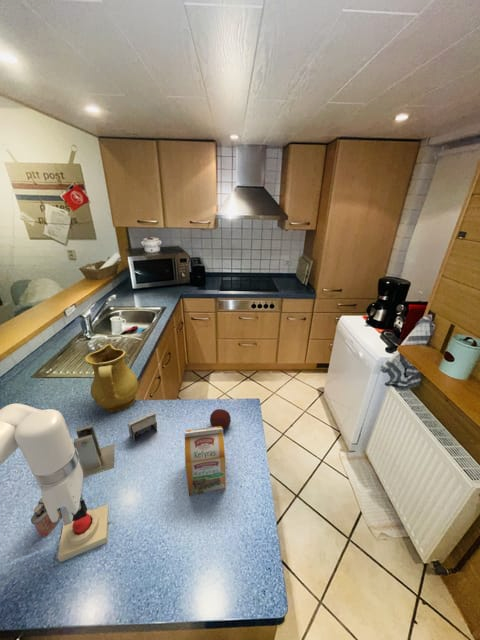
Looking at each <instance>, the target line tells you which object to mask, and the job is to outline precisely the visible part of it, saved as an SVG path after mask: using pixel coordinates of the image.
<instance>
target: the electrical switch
mask: <svg viewBox="0 0 480 640" xmlns="http://www.w3.org/2000/svg"><path fill="white" fill-rule="evenodd" d="M156 417H157V414H156V412H155V411H153V412H150V413H149V414H146V415H145V416H142V417H141V416H140V417H139V418H137V419H135V420H133V421H130V422H129V423H127V429H128V434H129V438H132V439H133V441H134V442H136V438H135V436H136V437H137V436H141V435H143V434H144V433H147V432H149V431H152V429H153V428H154V429H155V431H156V432H158V423H157V418H156Z"/></svg>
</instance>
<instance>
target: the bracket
mask: <svg viewBox="0 0 480 640" xmlns="http://www.w3.org/2000/svg"><path fill="white" fill-rule="evenodd" d="M86 430H87V431H89V432H91V433H93V434H92V435H89V436H85V437H82V438H78V436H79V435H80V434H82V433H83V432H84V431H86ZM75 432H76V434H77V438H75V439H73V443H74V444H75V447H76V451H77V454H78V456H79V463H80V465H81V468H82V471H83V479H85V478H87V477H90V476H93V475H97V474H100V473H102V472H105V471H108V470H111V469H114V468H115V454H116V453H115V451H116V450H115V449H116V444H115V443H114V444H110V445H107V446H104V447H103V446H102V447H101V446H100V442H99V438H98V437H97V433H96V430H95V427H94V424H90V425H86V426H83V427H79V428H76V429H75Z"/></svg>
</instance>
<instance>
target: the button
mask: <svg viewBox="0 0 480 640" xmlns="http://www.w3.org/2000/svg"><path fill="white" fill-rule="evenodd" d="M90 525H91V518H90V516H89V514H87V515H86V516H85V517H83V518H81V519H79V520H77V521H74V522H73V529H74V531H75V533H77V534H82V533H84V532H85V531H86V530H88V528H89V527H90Z"/></svg>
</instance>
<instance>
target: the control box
mask: <svg viewBox="0 0 480 640" xmlns="http://www.w3.org/2000/svg"><path fill="white" fill-rule="evenodd" d="M109 510H110V509H109V504H105V505H101V506H99V507H97V508H94V509H87V512H86V513H87V514H89V516H90V518H91V525H90V527H89V528H88V530H86V531H85V532H84V533H82V534H77V533H75V531H74V529H73V522H74V521H72V523H70V524H68V525H64V523H63V525H62V530H61V536H60V540H59V545H58V552H57V557H56V558H57V560H58V562H59V563H63V562H65V561H66V560H70V559H71V558H74V557H76V556H78V555H81V554H83V553H86V552H88V551H90V550H92V549H95V548H97V547H99V546H102V545H105V544H107V543H109V529H110V528H109V525H110V524H109Z"/></svg>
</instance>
